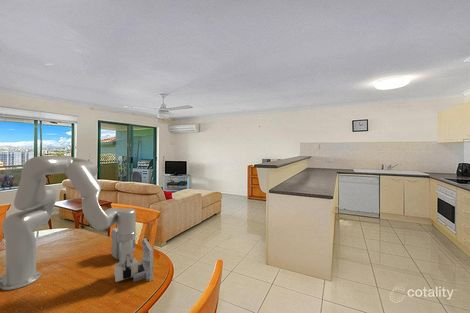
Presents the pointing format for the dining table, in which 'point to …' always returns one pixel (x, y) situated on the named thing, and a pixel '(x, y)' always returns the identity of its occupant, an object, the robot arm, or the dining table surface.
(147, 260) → the bracket
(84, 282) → the dining table surface
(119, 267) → the block
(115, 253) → the circuit breaker
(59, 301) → the dining table surface
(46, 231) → the dining table surface
